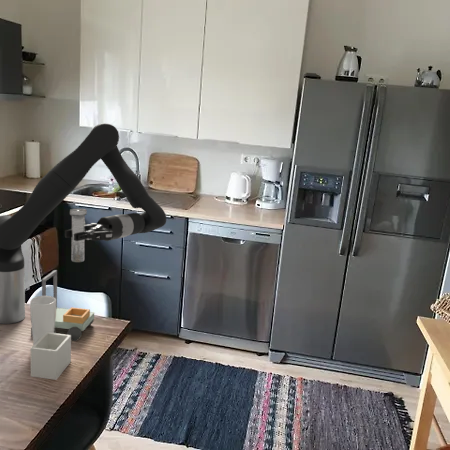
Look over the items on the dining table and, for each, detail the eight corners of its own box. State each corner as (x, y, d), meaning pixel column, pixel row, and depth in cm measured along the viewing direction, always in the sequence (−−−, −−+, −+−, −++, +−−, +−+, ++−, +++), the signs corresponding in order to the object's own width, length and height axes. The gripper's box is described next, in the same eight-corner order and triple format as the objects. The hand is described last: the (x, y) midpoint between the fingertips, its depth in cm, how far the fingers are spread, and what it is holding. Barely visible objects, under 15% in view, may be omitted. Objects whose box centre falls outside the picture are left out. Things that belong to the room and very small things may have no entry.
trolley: (39, 336, 139) (39, 280, 135) (56, 320, 150) (56, 268, 146) (81, 341, 138) (82, 285, 134) (95, 325, 149) (96, 273, 145)
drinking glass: (47, 356, 129) (47, 306, 125) (25, 352, 130) (24, 302, 126) (60, 345, 135) (60, 297, 132) (39, 341, 136) (39, 293, 133)
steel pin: (67, 261, 135) (67, 211, 131) (73, 256, 140) (73, 207, 136) (82, 263, 135) (83, 212, 131) (88, 258, 139) (88, 209, 136)
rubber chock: (31, 336, 139) (31, 327, 138) (34, 333, 141) (34, 324, 140) (40, 337, 139) (40, 328, 138) (43, 334, 141) (43, 325, 140)
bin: (30, 376, 119) (30, 348, 117) (46, 358, 128) (46, 332, 126) (56, 379, 118) (56, 351, 117) (70, 361, 127) (71, 335, 125)
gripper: (100, 211, 150) (54, 218, 136) (131, 220, 142) (86, 228, 128) (100, 233, 152) (54, 242, 138) (130, 243, 144) (85, 254, 130)
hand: (70, 235), depth 133 cm, fingers closed on steel pin, 3 cm apart
